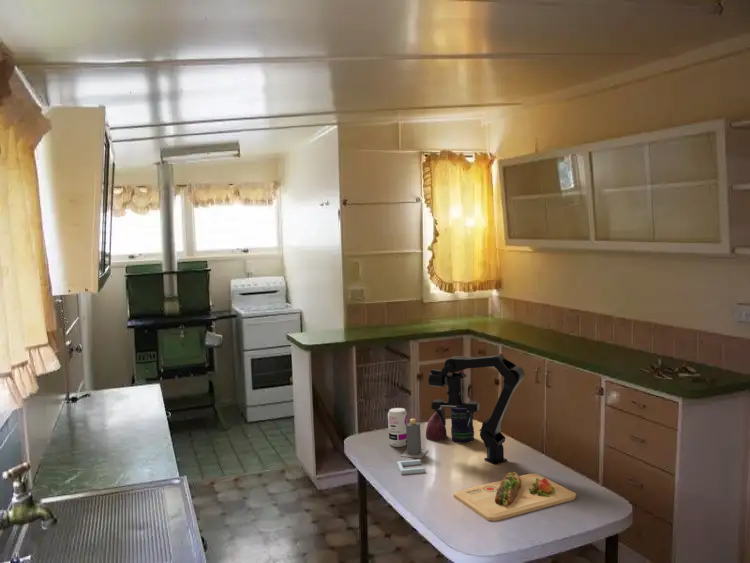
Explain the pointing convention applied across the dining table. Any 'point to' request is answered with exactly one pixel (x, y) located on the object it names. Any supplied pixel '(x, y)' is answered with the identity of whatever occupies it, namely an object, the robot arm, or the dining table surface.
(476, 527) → the dining table surface
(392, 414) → the supplement can
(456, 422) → the storage jar
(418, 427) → the plug block
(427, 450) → the grey pad
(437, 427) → the vegetable
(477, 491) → the cutting board
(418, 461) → the blue bay
